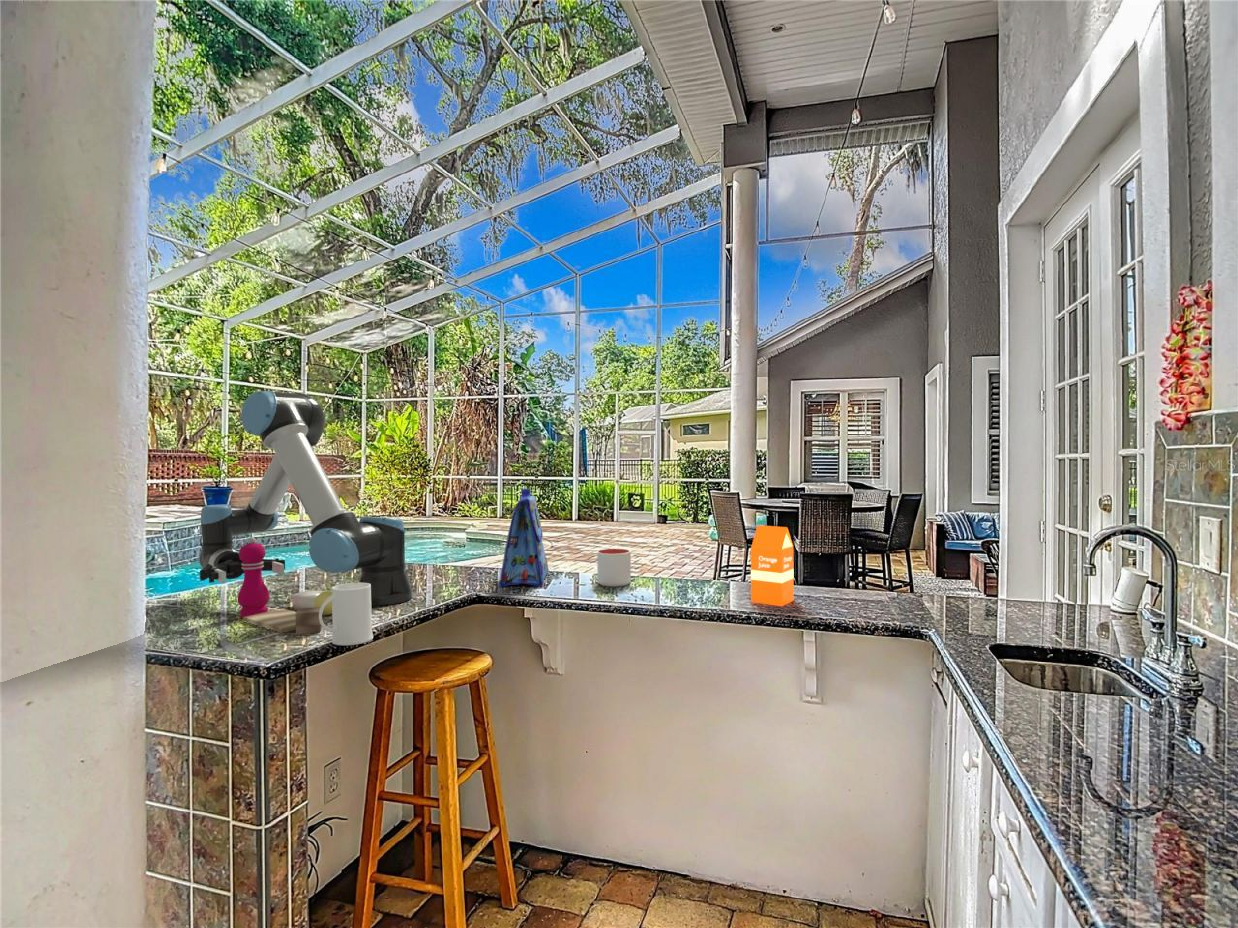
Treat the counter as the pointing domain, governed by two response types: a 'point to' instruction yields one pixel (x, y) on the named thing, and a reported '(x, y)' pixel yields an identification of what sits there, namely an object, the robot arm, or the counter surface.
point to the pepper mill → (252, 580)
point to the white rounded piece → (305, 599)
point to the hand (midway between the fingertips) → (254, 573)
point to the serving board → (274, 620)
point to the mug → (350, 614)
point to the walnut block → (307, 621)
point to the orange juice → (772, 566)
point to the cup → (614, 567)
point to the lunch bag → (524, 546)
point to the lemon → (320, 601)
